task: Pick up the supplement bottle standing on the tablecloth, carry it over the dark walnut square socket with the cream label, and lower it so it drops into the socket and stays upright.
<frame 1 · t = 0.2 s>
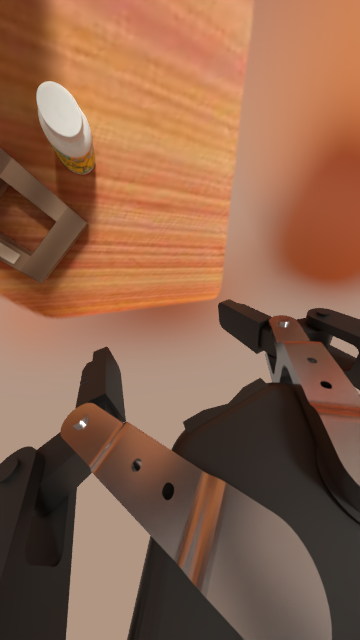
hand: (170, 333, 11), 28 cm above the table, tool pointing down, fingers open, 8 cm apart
socket holder: (25, 222, 26), on the table
supplement bottle: (76, 153, 25), on the table
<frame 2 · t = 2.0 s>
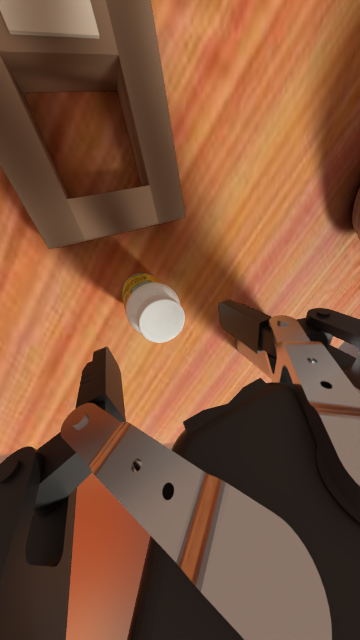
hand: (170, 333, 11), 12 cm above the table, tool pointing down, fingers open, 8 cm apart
socket holder: (93, 152, 14), on the table
supplement bottle: (142, 292, 21), on the table
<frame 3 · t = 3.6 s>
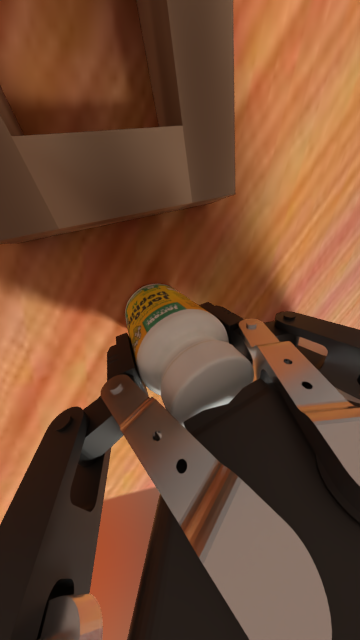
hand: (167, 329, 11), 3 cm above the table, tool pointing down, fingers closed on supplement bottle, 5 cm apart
socket holder: (75, 58, 7), on the table
supplement bottle: (154, 310, 14), on the table, touching gripper
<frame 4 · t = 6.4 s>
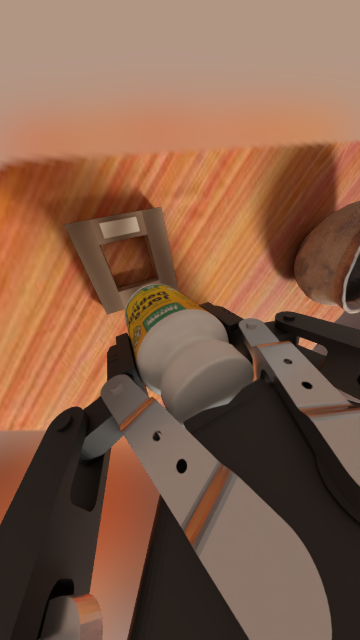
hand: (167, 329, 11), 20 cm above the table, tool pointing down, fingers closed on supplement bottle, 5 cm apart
ceramic bowl: (306, 255, 43), on the table
socket holder: (130, 262, 27), on the table
supplement bottle: (154, 310, 14), point 16 cm above the table, touching gripper
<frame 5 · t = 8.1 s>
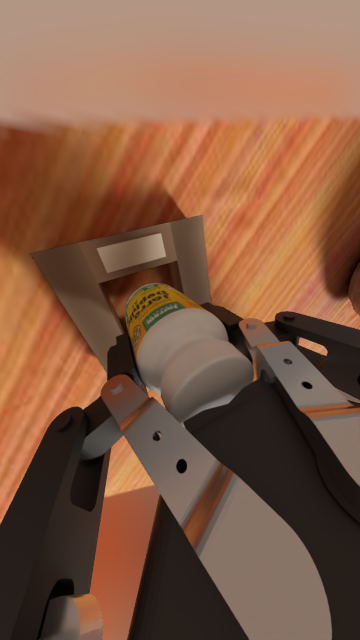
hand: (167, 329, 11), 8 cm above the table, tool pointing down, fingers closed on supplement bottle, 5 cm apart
socket holder: (145, 298, 18), on the table
supplement bottle: (154, 310, 14), point 4 cm above the table, touching gripper
when the fingers open (5 cm above the table, at t = 9.5 s): supplement bottle drops 1 cm, resting in socket holder.
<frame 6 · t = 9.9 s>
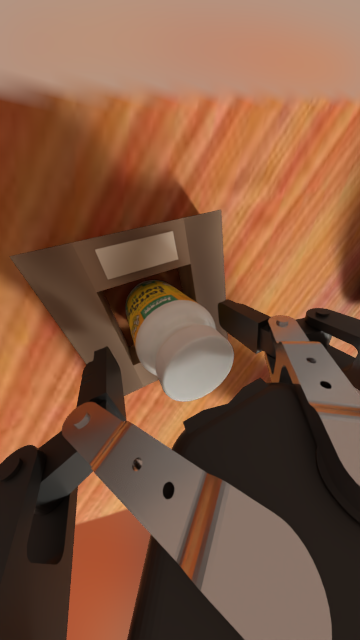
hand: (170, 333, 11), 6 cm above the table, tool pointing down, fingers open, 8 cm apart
socket holder: (151, 306, 15), on the table
supplement bottle: (152, 305, 16), resting in socket holder
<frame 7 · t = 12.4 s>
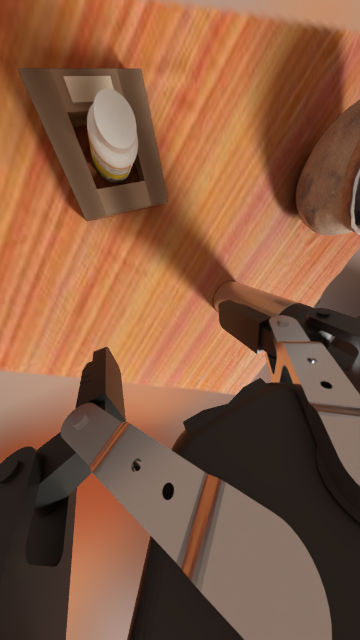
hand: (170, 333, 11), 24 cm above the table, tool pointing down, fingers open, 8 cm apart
ceramic bowl: (308, 186, 39), on the table
socket holder: (110, 160, 23), on the table
supplement bottle: (111, 161, 23), resting in socket holder
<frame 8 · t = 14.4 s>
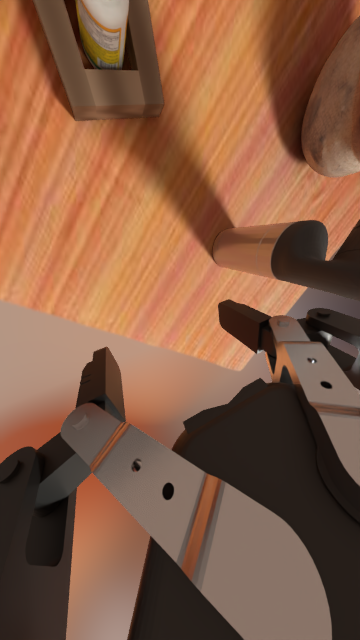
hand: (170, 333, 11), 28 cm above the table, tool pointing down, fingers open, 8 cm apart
ceramic bowl: (314, 128, 37), on the table
socket holder: (101, 47, 21), on the table
supplement bottle: (102, 49, 22), resting in socket holder
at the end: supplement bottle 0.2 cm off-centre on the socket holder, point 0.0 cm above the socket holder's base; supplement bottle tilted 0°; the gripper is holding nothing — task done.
